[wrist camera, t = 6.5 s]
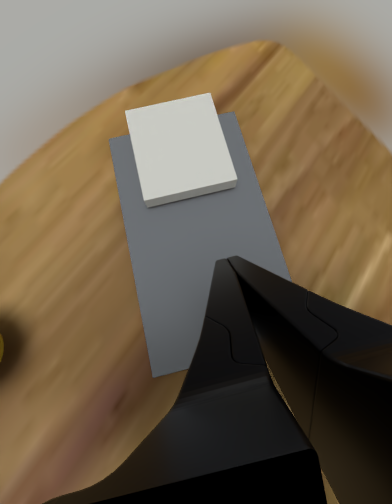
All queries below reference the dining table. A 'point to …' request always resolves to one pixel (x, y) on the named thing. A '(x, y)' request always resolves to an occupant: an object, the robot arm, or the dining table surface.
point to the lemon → (1, 347)
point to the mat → (190, 247)
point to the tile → (180, 150)
